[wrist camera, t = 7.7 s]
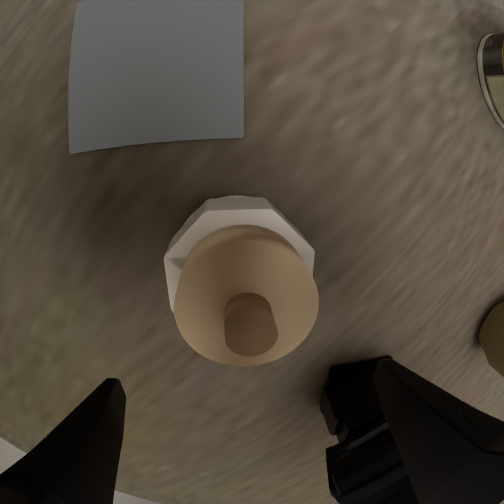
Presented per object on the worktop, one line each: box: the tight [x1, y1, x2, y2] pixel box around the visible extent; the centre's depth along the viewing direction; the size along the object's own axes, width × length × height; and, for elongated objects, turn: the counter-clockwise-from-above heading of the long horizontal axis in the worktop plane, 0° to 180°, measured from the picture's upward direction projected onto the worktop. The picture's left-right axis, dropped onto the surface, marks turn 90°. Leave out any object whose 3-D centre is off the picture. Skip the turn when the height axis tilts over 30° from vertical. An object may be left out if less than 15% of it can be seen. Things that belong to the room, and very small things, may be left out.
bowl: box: [164, 195, 315, 313], centre depth 18 cm, size 8×8×4 cm
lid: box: [174, 225, 319, 367], centre depth 14 cm, size 7×7×5 cm
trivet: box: [68, 0, 244, 154], centre depth 14 cm, size 11×11×1 cm
